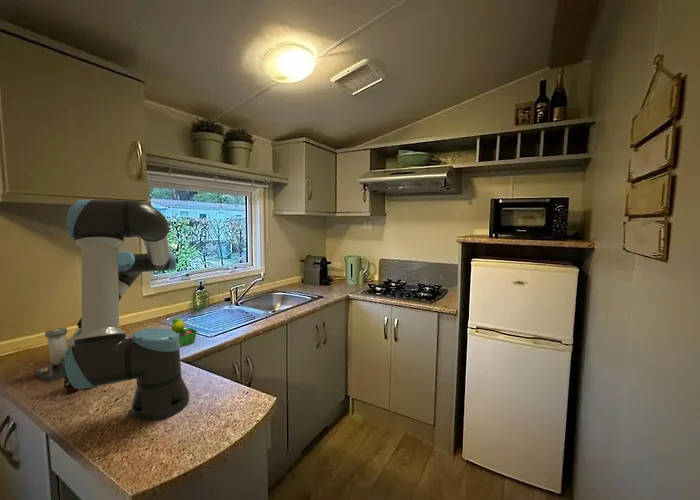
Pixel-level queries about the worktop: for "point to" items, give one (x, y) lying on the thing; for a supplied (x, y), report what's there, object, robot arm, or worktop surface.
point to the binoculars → (69, 387)
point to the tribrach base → (51, 371)
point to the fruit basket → (183, 332)
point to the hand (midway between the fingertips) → (70, 345)
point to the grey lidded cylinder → (57, 344)
